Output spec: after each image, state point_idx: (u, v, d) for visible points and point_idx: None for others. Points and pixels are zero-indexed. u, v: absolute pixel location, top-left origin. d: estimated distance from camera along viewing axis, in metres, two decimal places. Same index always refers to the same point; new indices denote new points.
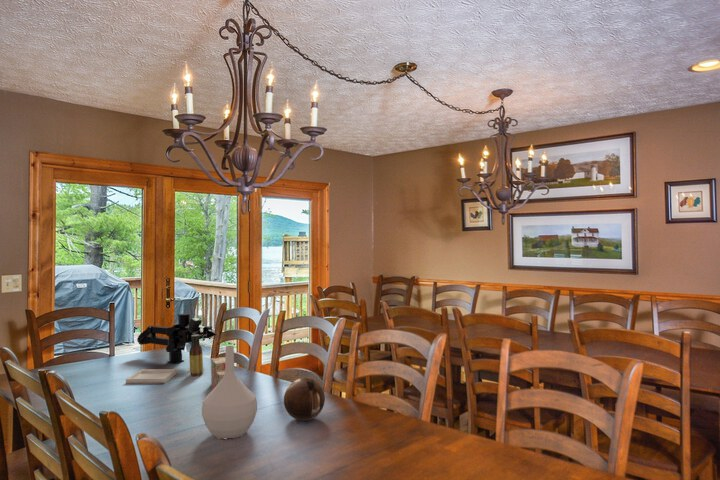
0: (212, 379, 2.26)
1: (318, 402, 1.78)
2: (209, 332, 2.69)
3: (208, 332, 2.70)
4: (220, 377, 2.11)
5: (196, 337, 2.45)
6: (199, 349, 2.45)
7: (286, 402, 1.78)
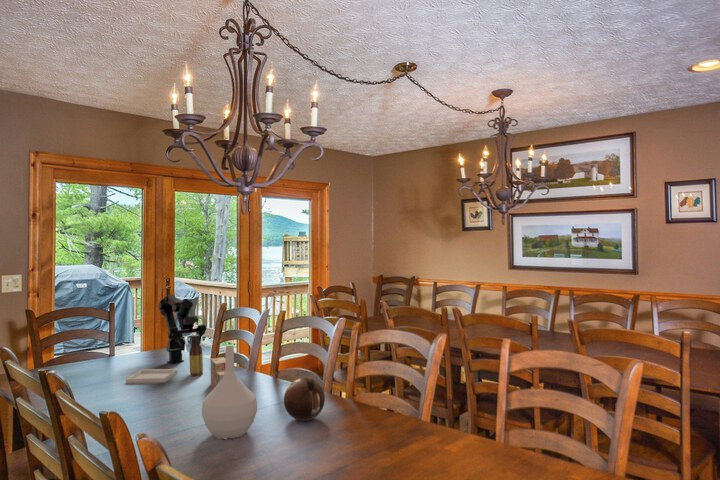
0: (212, 379, 2.26)
1: (318, 402, 1.78)
2: None
3: (198, 334, 2.59)
4: (220, 377, 2.11)
5: (196, 337, 2.45)
6: (199, 349, 2.45)
7: (286, 402, 1.78)
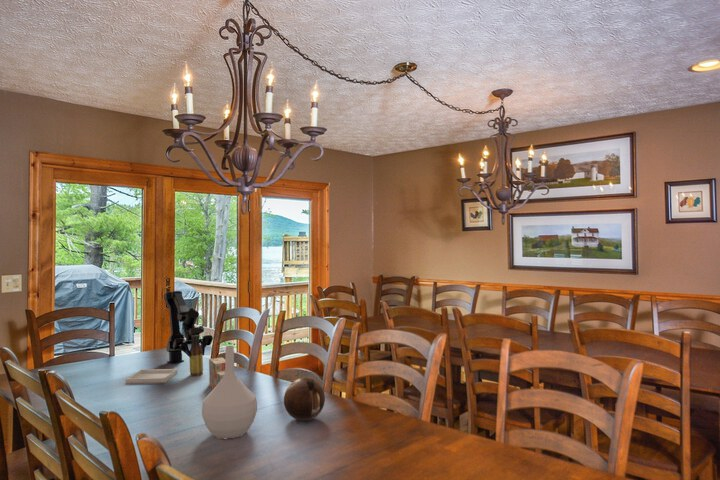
0: (211, 380, 2.25)
1: (318, 402, 1.78)
2: (202, 346, 2.50)
3: (201, 345, 2.51)
4: (221, 377, 2.11)
5: (196, 337, 2.45)
6: (199, 349, 2.45)
7: (286, 402, 1.78)
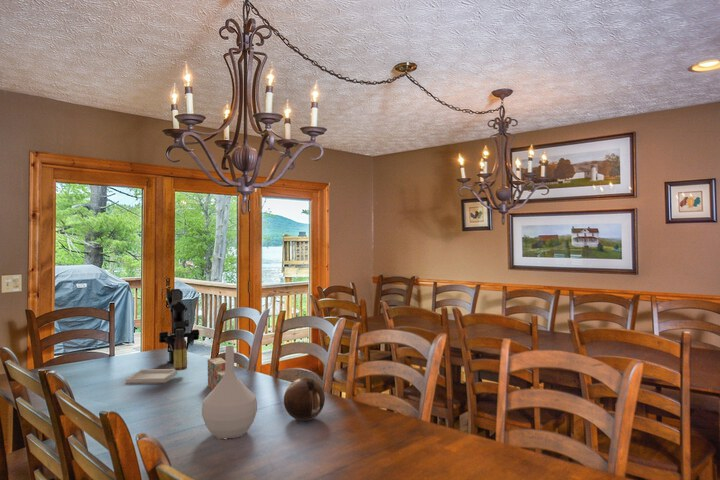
0: (210, 380, 2.25)
1: (318, 402, 1.78)
2: (187, 340, 2.46)
3: (187, 339, 2.47)
4: (222, 377, 2.11)
5: (179, 331, 2.41)
6: (182, 343, 2.41)
7: (286, 402, 1.78)
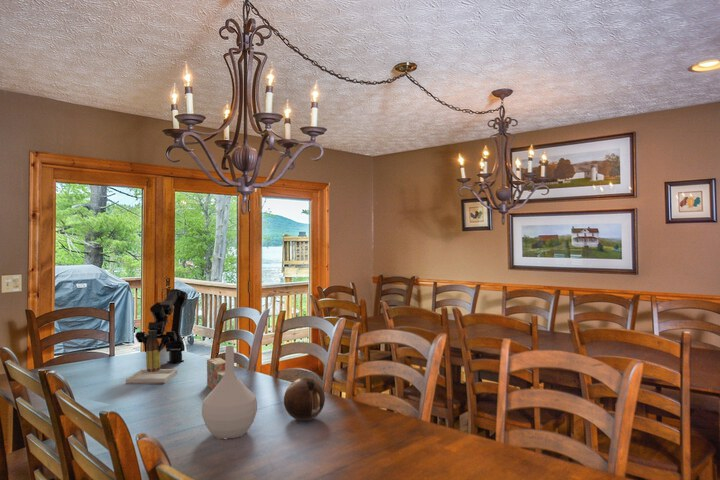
0: (209, 380, 2.24)
1: (318, 402, 1.78)
2: None
3: None
4: (222, 377, 2.11)
5: (150, 332, 2.39)
6: (152, 345, 2.38)
7: (286, 402, 1.78)
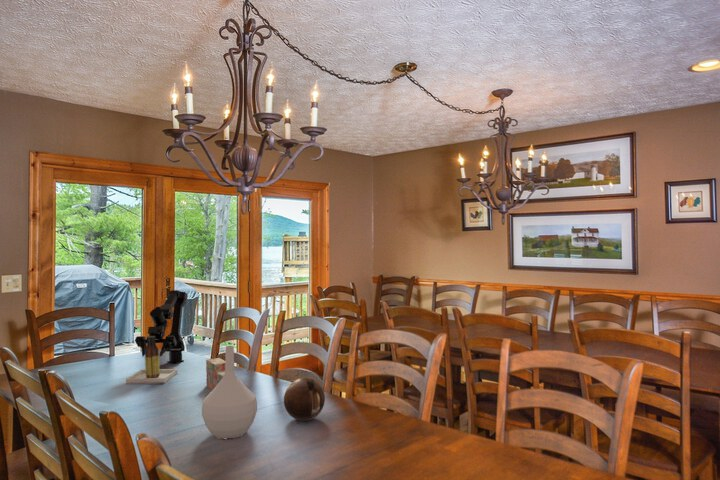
0: (209, 380, 2.24)
1: (318, 402, 1.78)
2: None
3: None
4: None
5: (149, 338, 2.39)
6: (151, 351, 2.38)
7: (286, 402, 1.78)
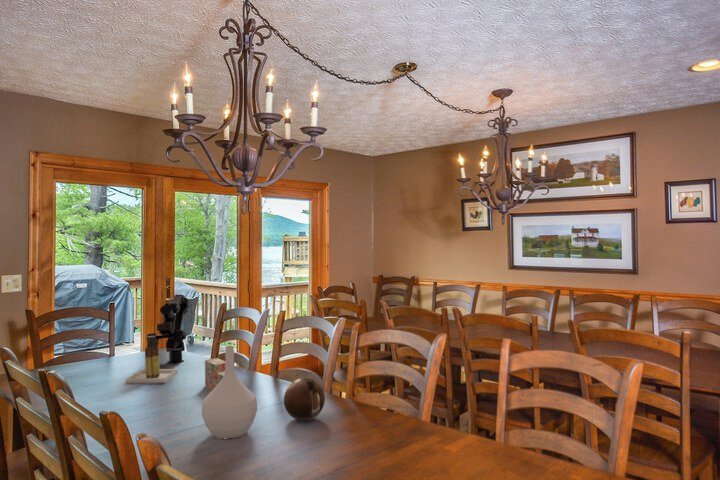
0: (208, 381, 2.23)
1: (318, 402, 1.78)
2: None
3: None
4: None
5: (149, 338, 2.39)
6: (151, 351, 2.38)
7: (286, 402, 1.78)
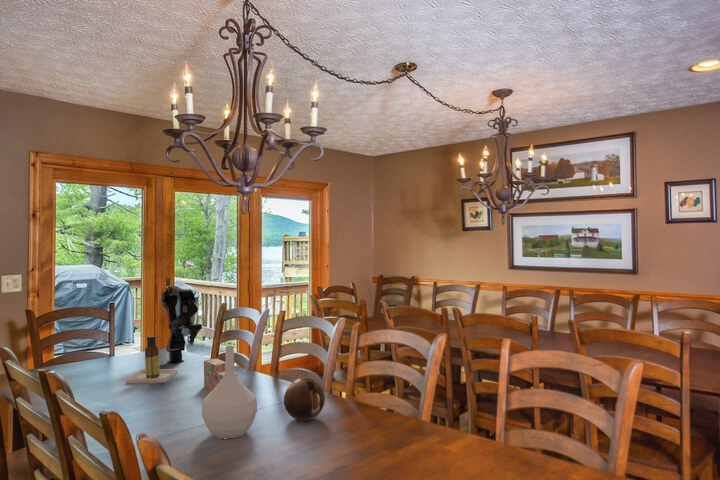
0: (207, 381, 2.23)
1: (318, 402, 1.78)
2: None
3: None
4: None
5: (149, 338, 2.39)
6: (151, 351, 2.38)
7: (286, 402, 1.78)
